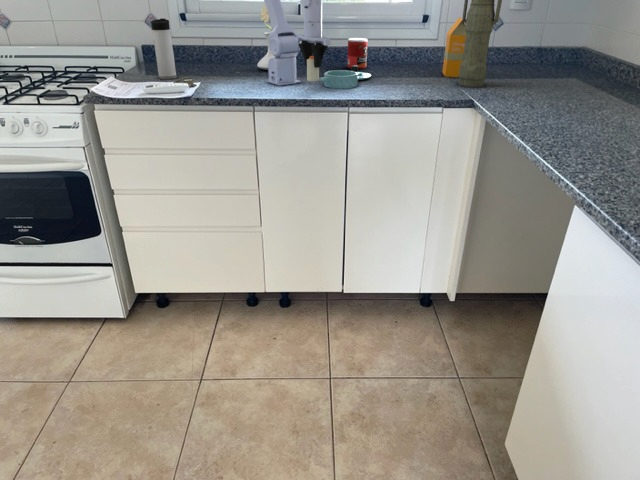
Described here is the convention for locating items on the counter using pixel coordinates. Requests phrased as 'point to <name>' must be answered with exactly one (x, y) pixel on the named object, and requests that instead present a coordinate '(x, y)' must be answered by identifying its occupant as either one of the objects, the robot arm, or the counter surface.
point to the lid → (364, 75)
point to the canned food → (357, 52)
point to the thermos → (477, 41)
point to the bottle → (312, 70)
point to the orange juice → (454, 49)
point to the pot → (340, 79)
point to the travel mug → (163, 48)
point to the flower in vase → (265, 60)
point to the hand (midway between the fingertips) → (313, 66)
